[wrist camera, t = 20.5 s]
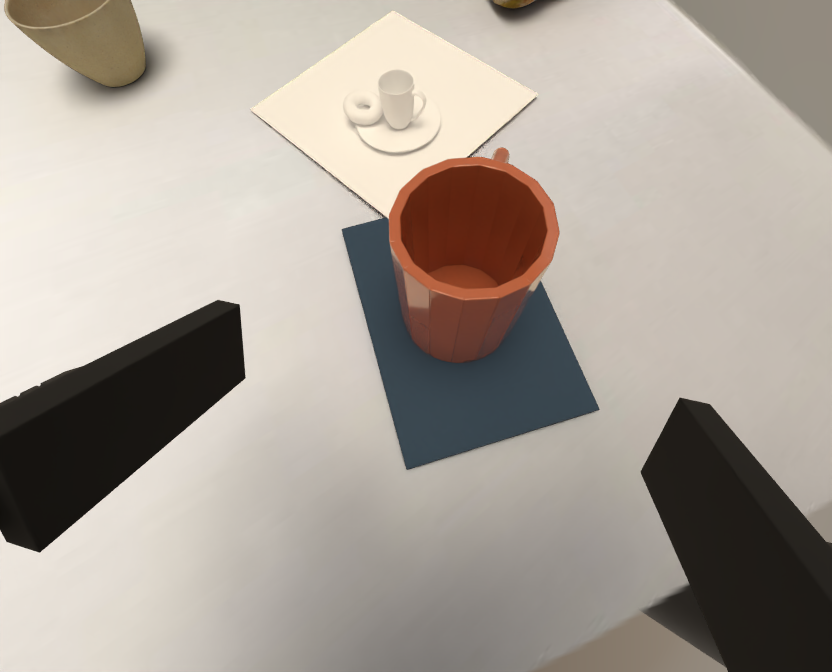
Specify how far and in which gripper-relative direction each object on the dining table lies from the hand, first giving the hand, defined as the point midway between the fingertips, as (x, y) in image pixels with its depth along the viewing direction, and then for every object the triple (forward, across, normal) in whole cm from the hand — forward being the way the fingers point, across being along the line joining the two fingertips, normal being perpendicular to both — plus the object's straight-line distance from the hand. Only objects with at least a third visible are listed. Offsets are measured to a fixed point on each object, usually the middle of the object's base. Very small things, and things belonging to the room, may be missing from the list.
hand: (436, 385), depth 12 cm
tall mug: (+19, 0, -3) cm, 19 cm away
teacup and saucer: (+32, -11, +10) cm, 36 cm away
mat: (+18, 0, -5) cm, 19 cm away
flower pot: (+32, -41, +9) cm, 52 cm away
